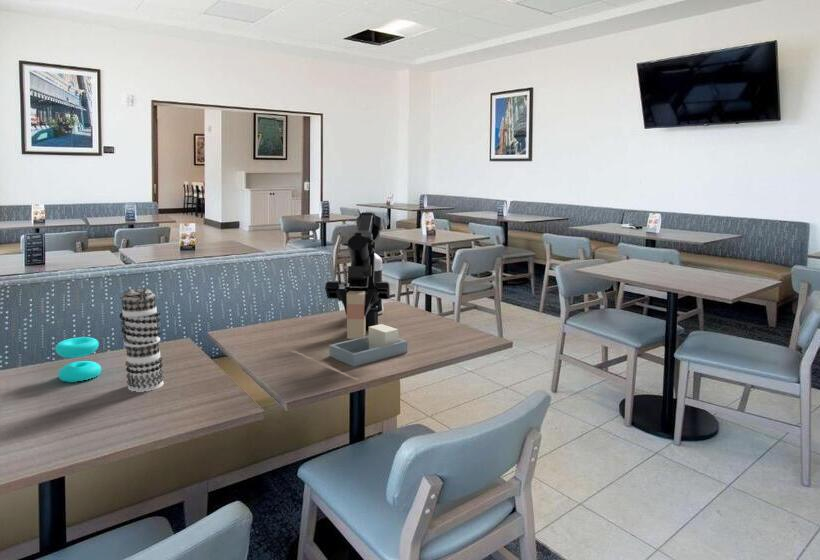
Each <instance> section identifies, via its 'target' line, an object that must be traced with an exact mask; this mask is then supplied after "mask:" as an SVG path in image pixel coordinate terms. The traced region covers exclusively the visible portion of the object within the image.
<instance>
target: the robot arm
mask: <svg viewBox="0 0 820 560" xmlns="http://www.w3.org/2000/svg"><path fill="white" fill-rule="evenodd" d="M382 227H383V221H382V217H379V216H378V215H376V213H375V212H367V211H366V212H360V213H359V216H357V217H356V230H357V231H356V232H354V233H353V234H352V235H351V237H350V238H349V239H348V240H347V250H348V254H349V257H350V259H351V261H350V265H349V266H347V284H348V285H345V284H340V283H341V282H340V281H338V280H337V281H331V280H328V281H327V282H326V283H325V284H324V285H325V287H324V290H325V293H326V297H327V299H329V300H330V299H335V300H337V301H339V302H341V303H342V306H343V308H344V312H345V316H347V293H348V292H349V291H365V301H366V304H365V309H364V316H365V319H366V331H369V327H370V326H375V325H379V315H378V312H380V311H382V302H383V300H389V299H390V297H391V289H390V283H389V282H388V281H382V282H376V286H375V284H374V266H375V254H376V249H377V248H376V247H377V242H378V240H379V239H380V235H381V232H382V230H383V228H382ZM376 306H378V307H376Z"/></svg>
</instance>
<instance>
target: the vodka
mask: <svg viewBox="0 0 820 560" xmlns="http://www.w3.org/2000/svg"><path fill="white" fill-rule="evenodd" d="M376 282H383V259H382V257H381V256H380V255H378V254H377V253H375V266H374V284H375V286H376ZM376 307H378V306H376ZM384 310H385V309H384V304H383V301H382V311H380V312H378V316H379V315H381V314H383V313H384Z"/></svg>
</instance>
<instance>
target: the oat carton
mask: <svg viewBox="0 0 820 560" xmlns="http://www.w3.org/2000/svg"><path fill="white" fill-rule="evenodd" d="M365 304H366V301H365V291H349V292H348V293H347V315H346V330H347V331H346V335H347V336H346V339H348V340H349V339H350V340H353V339H364V337H366V332H367V330H366V319H365V316H364V309H365Z"/></svg>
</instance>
